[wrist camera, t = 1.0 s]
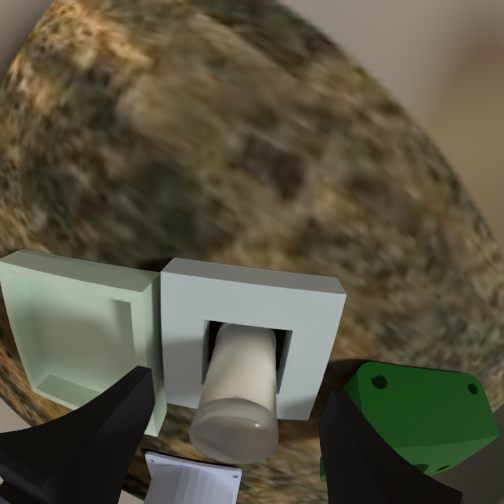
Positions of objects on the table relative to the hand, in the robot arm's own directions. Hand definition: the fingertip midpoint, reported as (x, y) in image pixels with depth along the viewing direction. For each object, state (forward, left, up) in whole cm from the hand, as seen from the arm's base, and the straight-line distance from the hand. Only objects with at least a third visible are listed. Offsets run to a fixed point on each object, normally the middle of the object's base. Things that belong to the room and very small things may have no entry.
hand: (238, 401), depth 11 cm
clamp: (-5, -11, -5) cm, 13 cm away
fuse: (0, 0, -5) cm, 5 cm away
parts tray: (-2, +10, -5) cm, 11 cm away
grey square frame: (0, 0, -5) cm, 5 cm away
